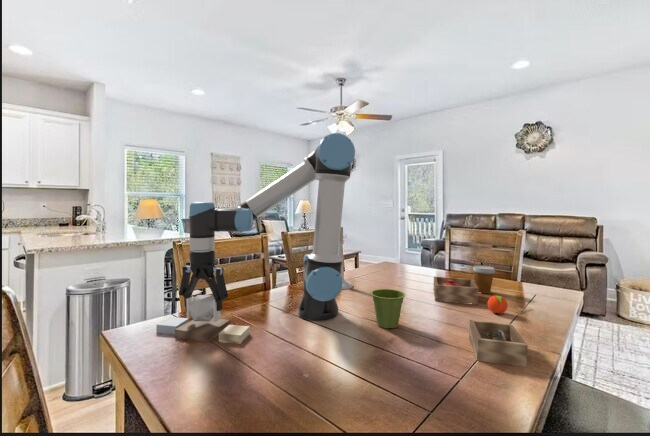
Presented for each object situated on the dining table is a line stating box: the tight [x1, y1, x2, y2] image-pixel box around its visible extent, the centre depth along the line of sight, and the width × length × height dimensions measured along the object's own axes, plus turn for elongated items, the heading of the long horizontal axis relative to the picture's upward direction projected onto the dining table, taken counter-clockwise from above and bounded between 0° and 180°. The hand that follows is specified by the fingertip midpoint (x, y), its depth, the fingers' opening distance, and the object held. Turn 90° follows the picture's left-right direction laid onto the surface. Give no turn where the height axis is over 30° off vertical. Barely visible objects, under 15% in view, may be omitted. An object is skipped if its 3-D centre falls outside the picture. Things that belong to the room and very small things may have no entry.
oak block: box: [218, 324, 251, 345], centre depth 104 cm, size 7×7×3 cm
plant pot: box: [370, 288, 406, 329], centre depth 115 cm, size 12×12×11 cm
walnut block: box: [174, 317, 231, 343], centre depth 108 cm, size 12×12×3 cm
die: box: [188, 294, 215, 321], centre depth 107 cm, size 8×9×10 cm
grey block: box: [155, 316, 190, 335], centre depth 110 cm, size 7×7×3 cm
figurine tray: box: [468, 319, 528, 368], centre depth 96 cm, size 12×15×6 cm
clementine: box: [487, 294, 509, 314], centre depth 128 cm, size 8×7×7 cm
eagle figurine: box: [480, 330, 506, 341], centre depth 95 cm, size 8×8×10 cm
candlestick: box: [338, 226, 354, 291], centre depth 164 cm, size 13×13×30 cm
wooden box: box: [433, 276, 479, 305], centre depth 148 cm, size 17×16×7 cm
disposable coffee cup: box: [472, 264, 496, 294], centre depth 156 cm, size 10×10×12 cm
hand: (203, 318), depth 108 cm, fingers open, 9 cm apart
